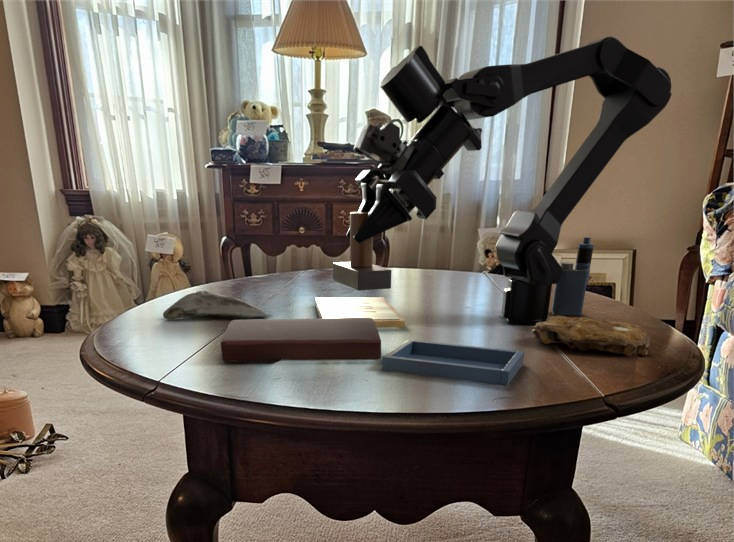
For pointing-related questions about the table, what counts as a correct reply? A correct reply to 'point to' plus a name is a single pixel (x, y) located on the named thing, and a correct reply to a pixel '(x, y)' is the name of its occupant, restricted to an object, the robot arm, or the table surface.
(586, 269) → the vaping device
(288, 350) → the book
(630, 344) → the decorative rock
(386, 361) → the tray
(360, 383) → the table surface
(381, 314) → the board
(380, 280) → the eraser
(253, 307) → the fossil
